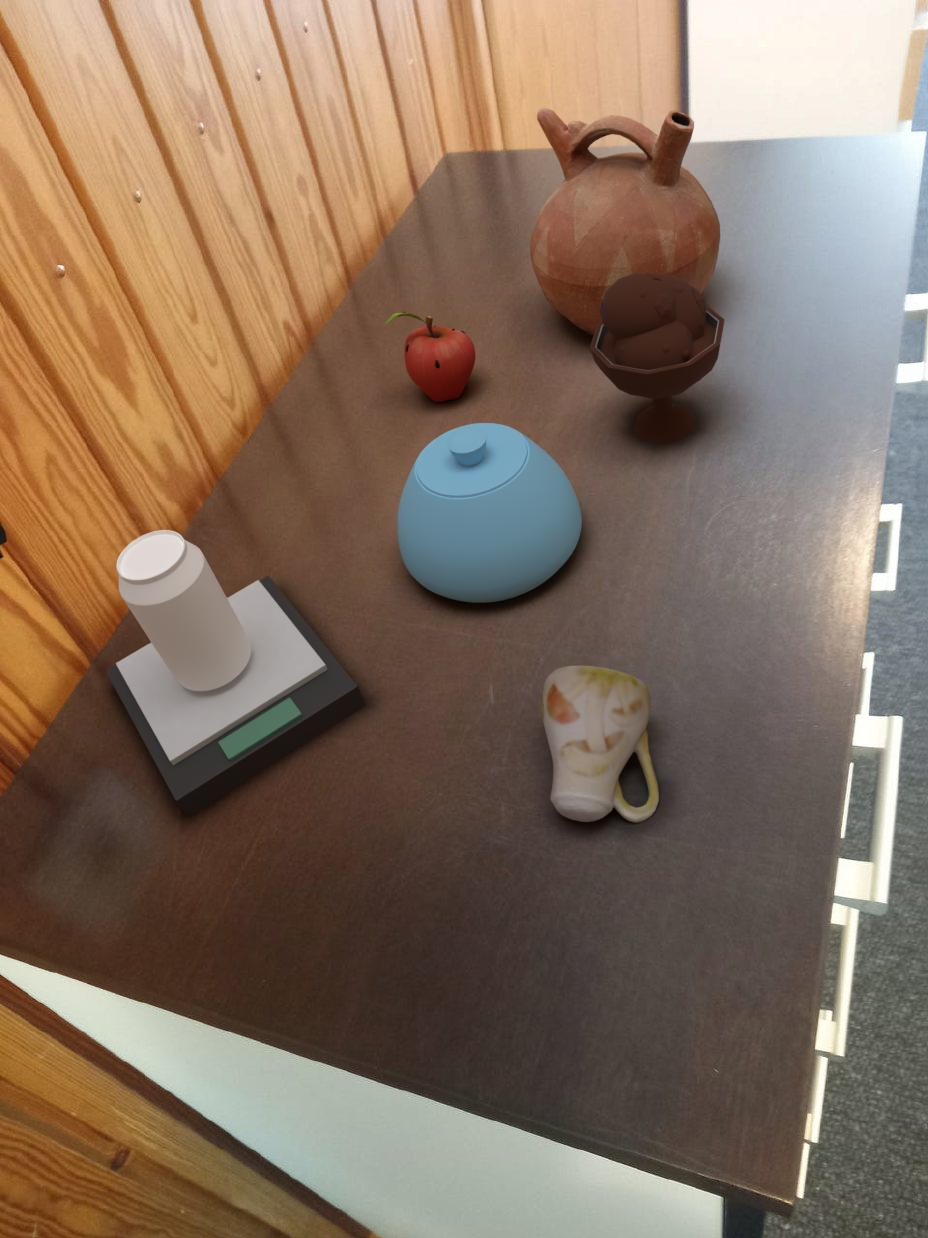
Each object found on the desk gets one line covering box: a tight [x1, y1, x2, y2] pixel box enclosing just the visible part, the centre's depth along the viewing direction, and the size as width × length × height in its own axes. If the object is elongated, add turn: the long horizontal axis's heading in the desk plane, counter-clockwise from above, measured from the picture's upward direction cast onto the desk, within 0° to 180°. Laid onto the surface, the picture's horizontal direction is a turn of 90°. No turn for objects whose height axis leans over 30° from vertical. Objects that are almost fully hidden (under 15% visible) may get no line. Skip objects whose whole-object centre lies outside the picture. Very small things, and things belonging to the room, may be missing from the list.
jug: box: [529, 107, 721, 337], centre depth 98 cm, size 18×18×20 cm
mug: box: [540, 665, 660, 824], centre depth 67 cm, size 8×10×10 cm
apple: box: [381, 311, 476, 403], centre depth 99 cm, size 8×7×10 cm
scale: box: [105, 575, 367, 819], centre depth 79 cm, size 15×16×3 cm
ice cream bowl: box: [589, 273, 725, 445], centre depth 86 cm, size 11×11×15 cm
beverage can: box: [115, 529, 251, 691], centre depth 75 cm, size 6×6×12 cm
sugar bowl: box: [396, 422, 583, 604], centre depth 81 cm, size 15×15×12 cm
